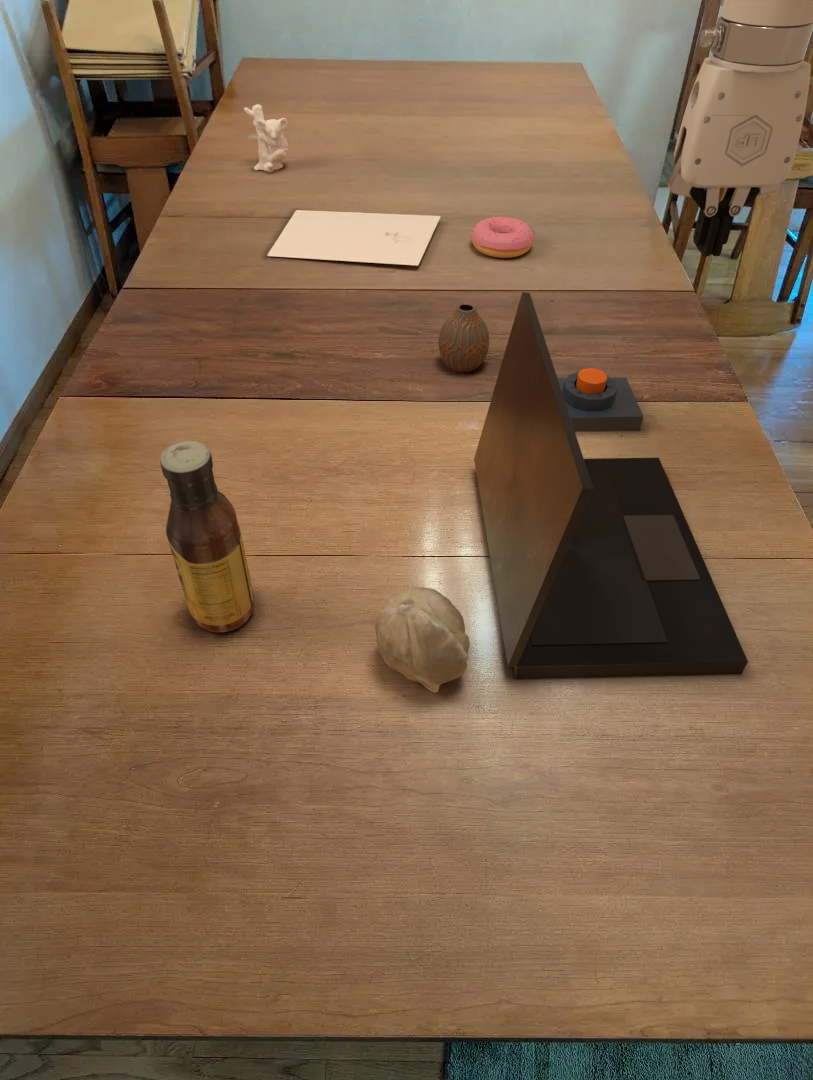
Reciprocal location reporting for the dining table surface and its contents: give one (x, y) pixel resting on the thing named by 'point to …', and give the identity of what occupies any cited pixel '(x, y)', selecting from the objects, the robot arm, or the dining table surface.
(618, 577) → the laptop
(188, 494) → the sauce bottle
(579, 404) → the switch box
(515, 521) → the laptop screen
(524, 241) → the doughnut
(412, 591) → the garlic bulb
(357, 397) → the dining table surface
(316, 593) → the dining table surface
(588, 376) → the button
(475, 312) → the vase
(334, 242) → the paper sheet
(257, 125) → the koala figurine
